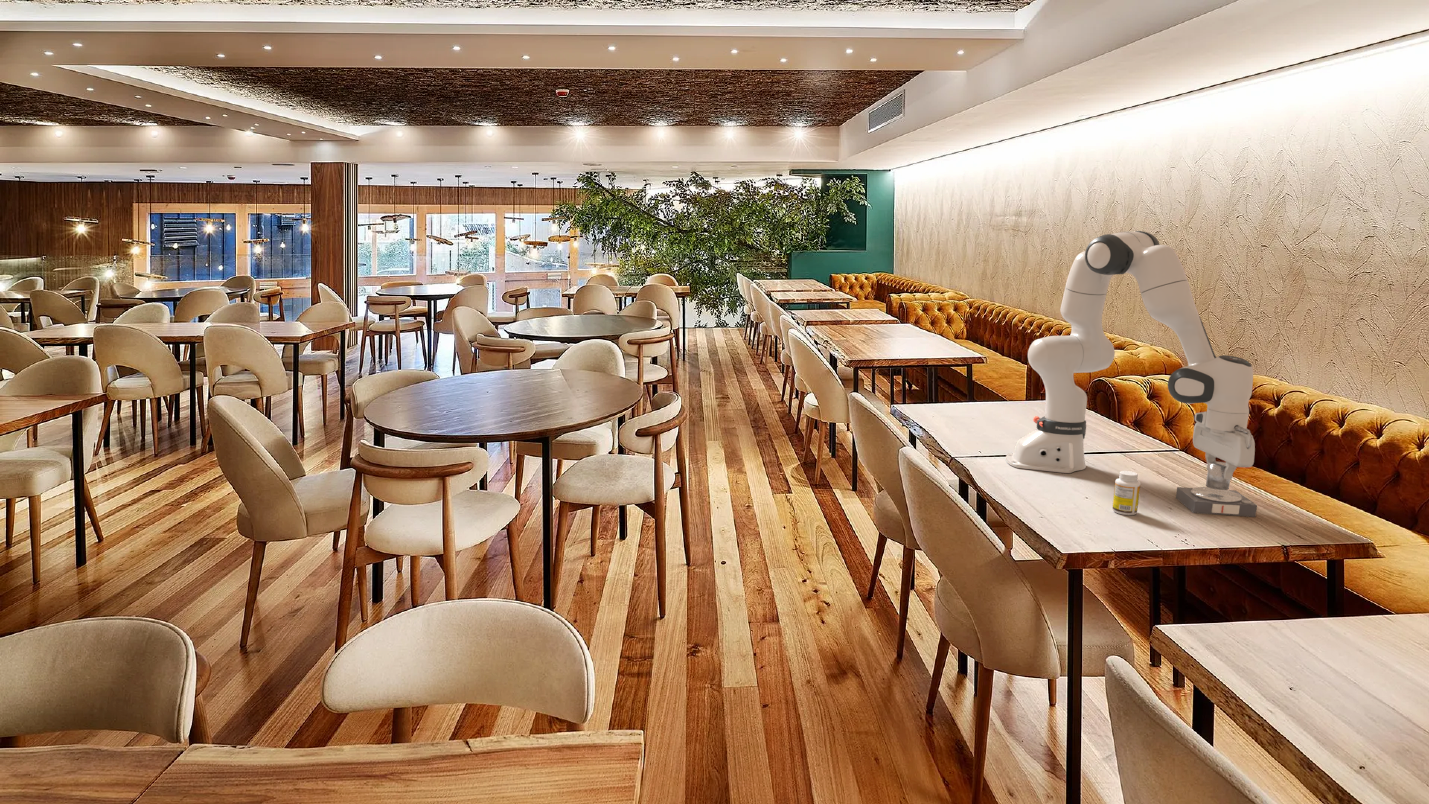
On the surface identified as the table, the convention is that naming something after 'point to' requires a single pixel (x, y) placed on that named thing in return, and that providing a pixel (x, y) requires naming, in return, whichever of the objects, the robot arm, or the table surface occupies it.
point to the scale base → (1216, 504)
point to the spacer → (1217, 476)
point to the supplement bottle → (1126, 493)
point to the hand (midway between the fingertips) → (1218, 474)
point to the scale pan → (1216, 495)
